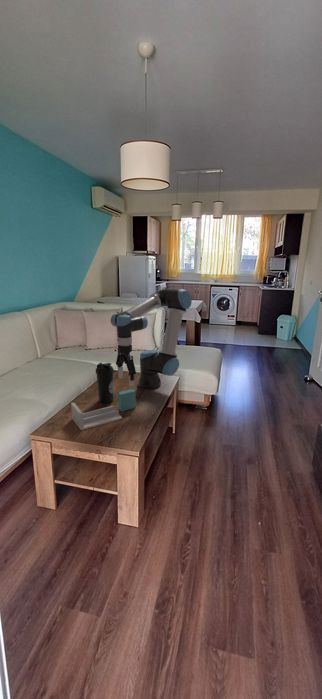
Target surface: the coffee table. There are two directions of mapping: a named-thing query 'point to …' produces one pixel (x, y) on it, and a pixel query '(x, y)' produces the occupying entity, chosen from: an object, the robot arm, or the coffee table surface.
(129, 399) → the teal sliding block
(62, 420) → the coffee table surface
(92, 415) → the track
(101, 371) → the water bottle
